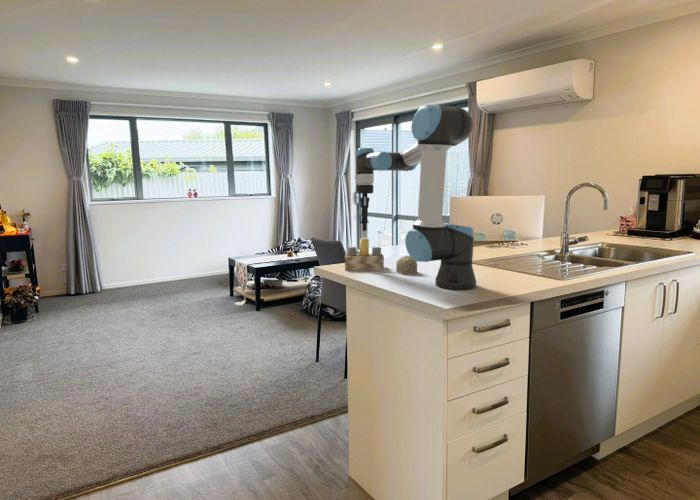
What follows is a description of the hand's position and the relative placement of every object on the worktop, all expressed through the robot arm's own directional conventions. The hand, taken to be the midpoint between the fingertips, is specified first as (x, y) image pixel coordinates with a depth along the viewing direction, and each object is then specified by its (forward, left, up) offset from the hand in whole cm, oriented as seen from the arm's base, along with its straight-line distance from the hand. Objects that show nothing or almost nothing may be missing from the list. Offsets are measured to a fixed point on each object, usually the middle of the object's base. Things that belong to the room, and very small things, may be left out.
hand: (364, 237), depth 208 cm
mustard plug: (0, 0, -10) cm, 10 cm away
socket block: (0, 0, -14) cm, 14 cm away
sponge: (-16, -13, -14) cm, 25 cm away
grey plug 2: (-3, -5, -13) cm, 15 cm away
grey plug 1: (+2, +5, -13) cm, 14 cm away
